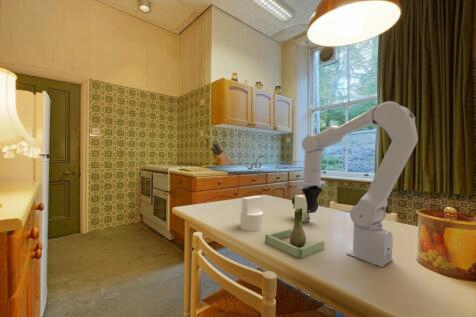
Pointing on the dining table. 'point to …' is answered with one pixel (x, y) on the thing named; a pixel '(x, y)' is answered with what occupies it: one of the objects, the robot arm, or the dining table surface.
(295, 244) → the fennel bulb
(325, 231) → the dining table surface
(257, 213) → the cylinder with rectangular tab
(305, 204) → the pneumatic valve
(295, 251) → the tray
